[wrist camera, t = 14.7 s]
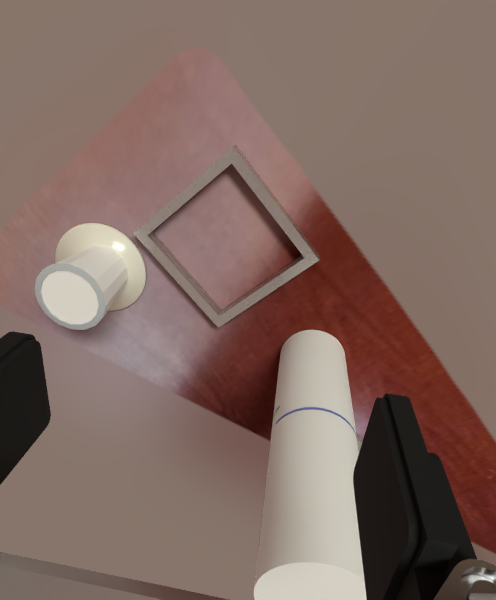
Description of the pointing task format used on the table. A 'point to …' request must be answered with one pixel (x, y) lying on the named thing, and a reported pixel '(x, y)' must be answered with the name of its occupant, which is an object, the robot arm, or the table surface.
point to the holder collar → (275, 210)
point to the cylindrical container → (311, 479)
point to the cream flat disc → (114, 240)
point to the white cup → (81, 287)
